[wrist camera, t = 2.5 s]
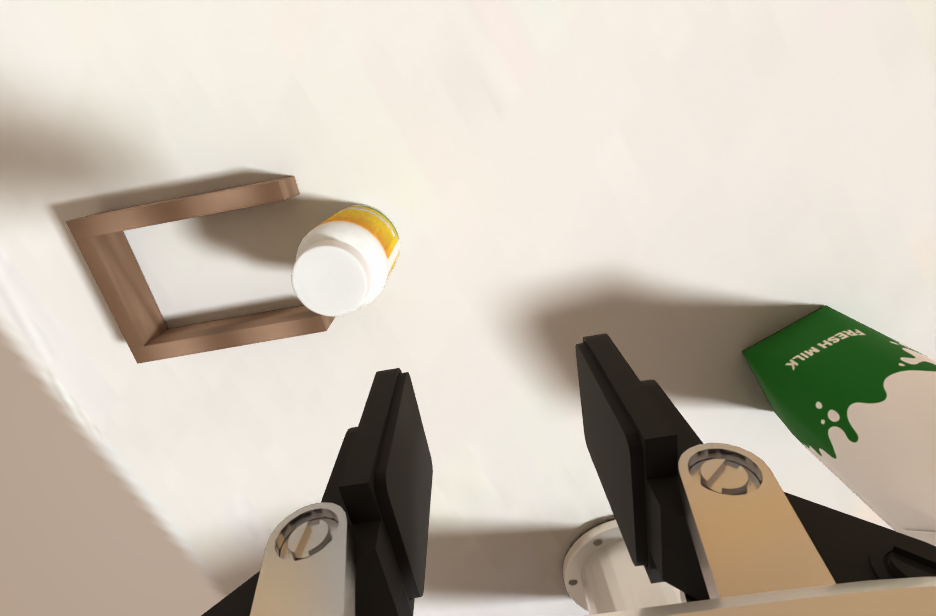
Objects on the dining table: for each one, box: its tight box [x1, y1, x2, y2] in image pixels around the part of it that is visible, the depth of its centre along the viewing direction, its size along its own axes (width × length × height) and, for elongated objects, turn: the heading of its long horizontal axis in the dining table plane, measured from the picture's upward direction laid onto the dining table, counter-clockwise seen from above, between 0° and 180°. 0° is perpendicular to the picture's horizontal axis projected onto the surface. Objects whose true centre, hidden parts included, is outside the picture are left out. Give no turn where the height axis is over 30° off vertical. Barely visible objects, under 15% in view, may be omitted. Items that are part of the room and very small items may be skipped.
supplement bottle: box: [291, 205, 400, 316], centre depth 29 cm, size 5×5×10 cm
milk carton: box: [742, 305, 936, 546], centre depth 28 cm, size 9×9×20 cm
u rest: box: [66, 176, 336, 363], centre depth 33 cm, size 14×10×3 cm
